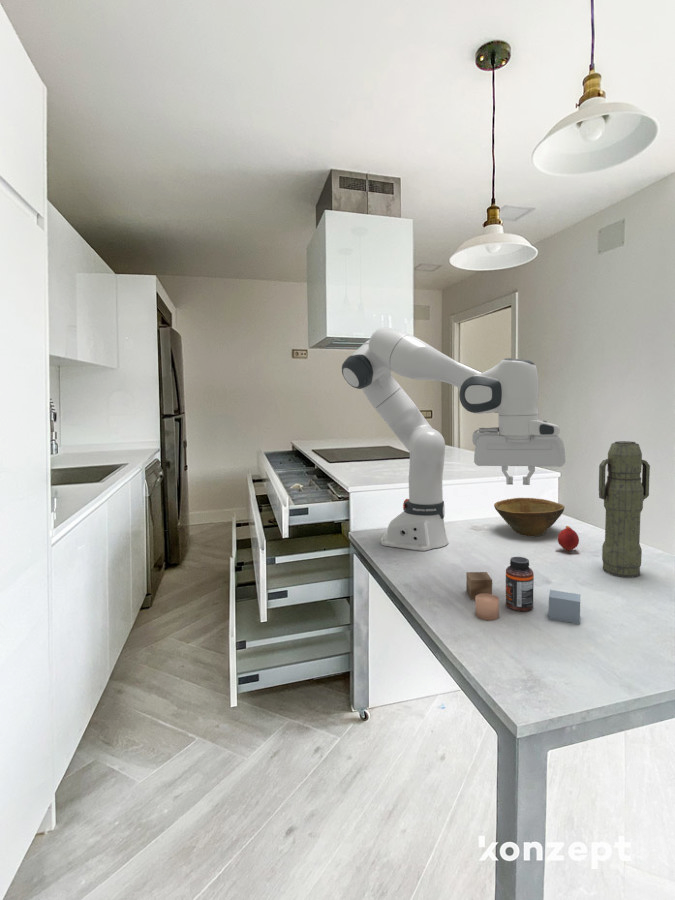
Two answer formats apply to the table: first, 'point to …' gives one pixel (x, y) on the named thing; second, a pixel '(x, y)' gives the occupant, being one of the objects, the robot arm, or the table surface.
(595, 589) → the table surface
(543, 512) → the bowl
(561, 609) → the slate block
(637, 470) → the thermos
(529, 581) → the supplement bottle
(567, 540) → the onion
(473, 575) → the walnut cube
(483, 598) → the peach rounded cylinder
